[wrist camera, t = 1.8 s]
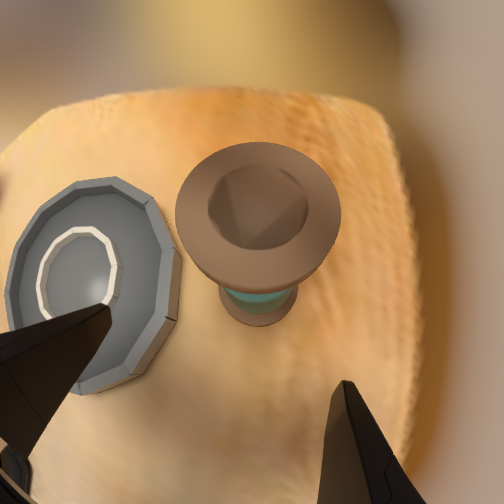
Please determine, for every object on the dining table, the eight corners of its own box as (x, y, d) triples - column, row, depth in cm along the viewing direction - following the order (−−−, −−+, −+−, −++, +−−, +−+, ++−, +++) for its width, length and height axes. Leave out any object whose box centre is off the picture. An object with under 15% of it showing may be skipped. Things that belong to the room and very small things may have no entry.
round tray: (107, 433, 17) (92, 439, 15) (2, 303, 21) (-12, 298, 19) (226, 248, 23) (222, 235, 21) (89, 168, 27) (80, 156, 25)
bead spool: (271, 340, 20) (292, 321, 8) (206, 301, 21) (143, 230, 9) (308, 276, 22) (362, 183, 10) (245, 241, 23) (234, 125, 11)
